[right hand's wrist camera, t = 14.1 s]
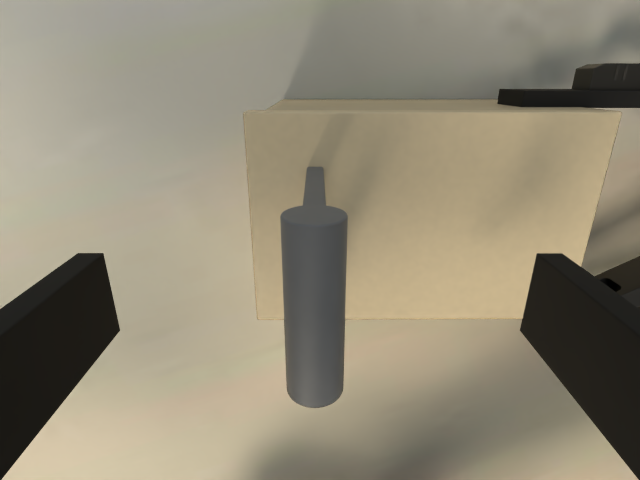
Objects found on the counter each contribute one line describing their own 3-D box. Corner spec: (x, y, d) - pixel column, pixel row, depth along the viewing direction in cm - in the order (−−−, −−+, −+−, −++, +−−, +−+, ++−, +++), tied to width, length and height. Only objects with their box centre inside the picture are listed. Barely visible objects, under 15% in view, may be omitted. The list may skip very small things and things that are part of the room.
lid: (259, 310, 21) (222, 460, 13) (246, 110, 17) (182, 138, 9) (557, 308, 21) (712, 456, 13) (607, 109, 17) (870, 137, 9)
